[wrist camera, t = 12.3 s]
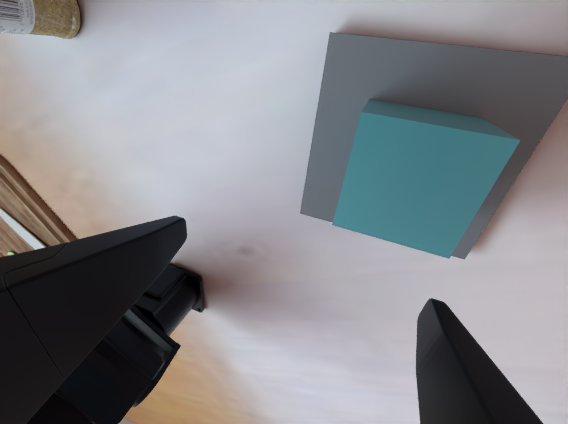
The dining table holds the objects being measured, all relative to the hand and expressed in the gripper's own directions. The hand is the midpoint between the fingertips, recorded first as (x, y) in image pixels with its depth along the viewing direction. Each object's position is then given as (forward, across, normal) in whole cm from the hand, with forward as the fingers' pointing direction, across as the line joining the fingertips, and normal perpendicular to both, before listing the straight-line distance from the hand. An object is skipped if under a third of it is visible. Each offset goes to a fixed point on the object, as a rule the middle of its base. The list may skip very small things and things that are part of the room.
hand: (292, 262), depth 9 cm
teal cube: (+10, -4, -2) cm, 11 cm away
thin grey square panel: (+11, -4, -2) cm, 12 cm away
